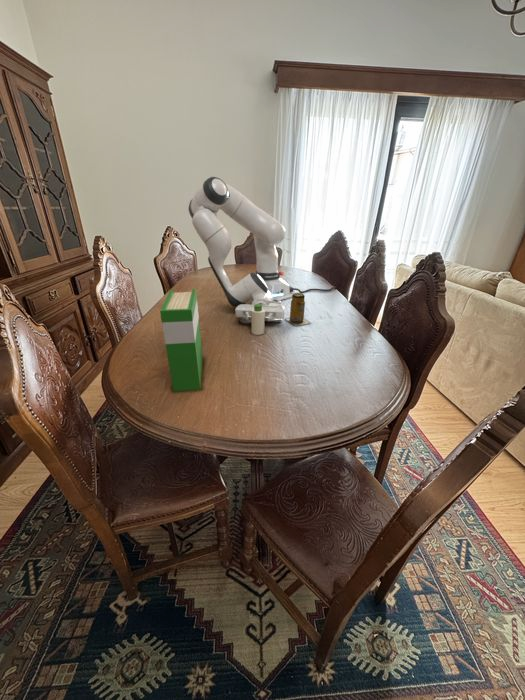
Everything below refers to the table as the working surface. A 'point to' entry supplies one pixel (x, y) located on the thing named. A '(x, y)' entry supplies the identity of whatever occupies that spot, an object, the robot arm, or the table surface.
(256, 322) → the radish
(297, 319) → the condiment
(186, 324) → the hardback book
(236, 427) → the table surface
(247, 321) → the spoon
